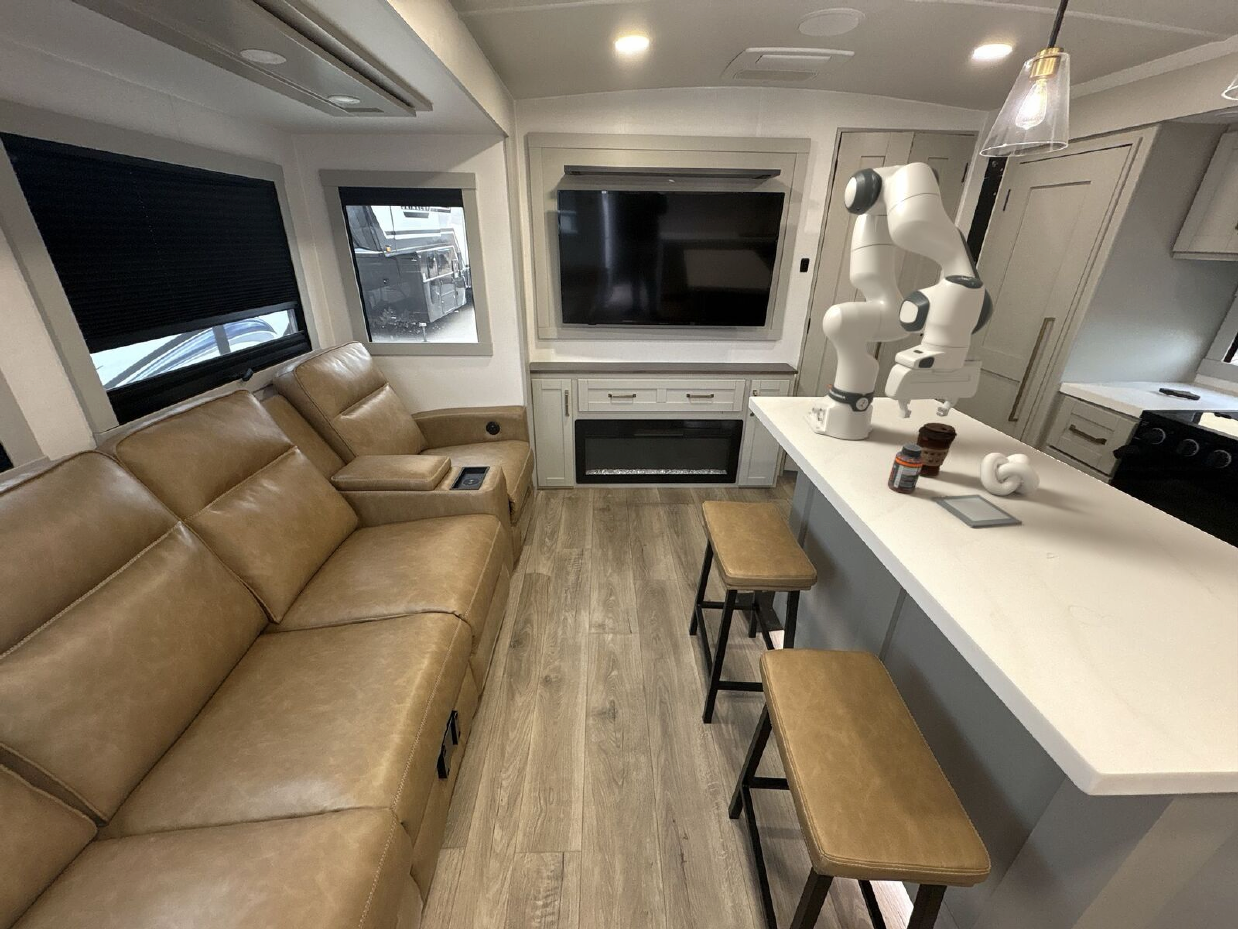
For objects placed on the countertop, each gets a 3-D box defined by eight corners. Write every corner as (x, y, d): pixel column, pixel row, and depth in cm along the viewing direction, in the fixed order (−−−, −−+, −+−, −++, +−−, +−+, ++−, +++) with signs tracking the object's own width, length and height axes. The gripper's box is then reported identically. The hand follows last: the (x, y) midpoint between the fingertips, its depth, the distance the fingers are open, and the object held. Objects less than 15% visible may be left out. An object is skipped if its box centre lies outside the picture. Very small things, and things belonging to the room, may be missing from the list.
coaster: (932, 499, 115) (933, 497, 114) (977, 496, 116) (978, 494, 116) (971, 527, 104) (972, 525, 104) (1021, 524, 106) (1022, 521, 105)
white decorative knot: (969, 473, 127) (981, 442, 123) (1025, 484, 122) (1039, 452, 118) (973, 492, 118) (986, 459, 114) (1034, 505, 113) (1050, 471, 109)
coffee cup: (948, 482, 123) (965, 434, 117) (913, 478, 124) (928, 431, 118) (935, 467, 130) (951, 421, 125) (902, 463, 132) (915, 419, 126)
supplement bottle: (887, 480, 123) (899, 439, 118) (913, 486, 121) (927, 444, 116) (886, 490, 118) (899, 448, 113) (914, 496, 116) (928, 453, 111)
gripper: (972, 352, 109) (953, 410, 115) (889, 354, 106) (874, 413, 113) (995, 358, 103) (974, 419, 110) (908, 361, 101) (891, 423, 107)
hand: (922, 416), depth 111 cm, fingers open, 8 cm apart
